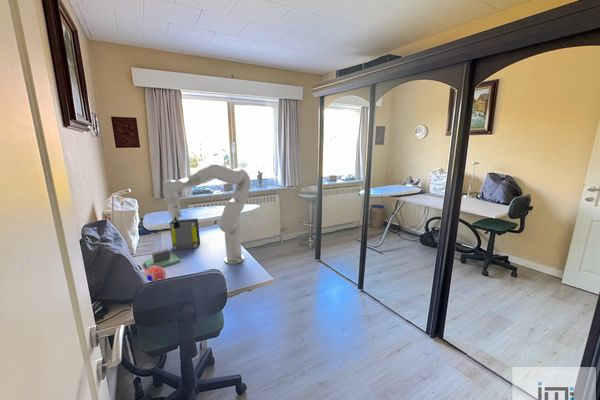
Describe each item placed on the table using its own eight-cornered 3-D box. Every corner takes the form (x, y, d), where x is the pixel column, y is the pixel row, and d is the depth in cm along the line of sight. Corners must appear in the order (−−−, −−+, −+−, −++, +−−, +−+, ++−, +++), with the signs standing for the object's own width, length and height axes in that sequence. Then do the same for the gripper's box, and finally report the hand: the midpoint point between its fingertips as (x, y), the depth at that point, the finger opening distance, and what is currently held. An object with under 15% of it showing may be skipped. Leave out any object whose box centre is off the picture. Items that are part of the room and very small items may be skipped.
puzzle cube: (166, 280, 148) (164, 267, 146) (153, 287, 141) (151, 274, 139) (156, 277, 151) (154, 265, 149) (143, 284, 144) (141, 271, 142)
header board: (180, 261, 171) (179, 255, 170) (149, 271, 159) (148, 263, 158) (173, 255, 181) (172, 248, 180) (144, 263, 169) (142, 256, 168)
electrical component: (172, 250, 189) (168, 224, 184) (175, 245, 198) (172, 220, 194) (198, 248, 192) (195, 222, 188) (200, 243, 202) (197, 218, 197)
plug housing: (170, 259, 171) (169, 250, 170) (154, 263, 165) (153, 254, 164) (168, 257, 174) (167, 248, 172) (153, 261, 168) (151, 253, 166)
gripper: (182, 200, 161) (187, 228, 165) (174, 197, 171) (179, 224, 175) (169, 202, 156) (174, 232, 160) (162, 199, 167) (167, 227, 171)
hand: (177, 227), depth 168 cm, fingers closed
